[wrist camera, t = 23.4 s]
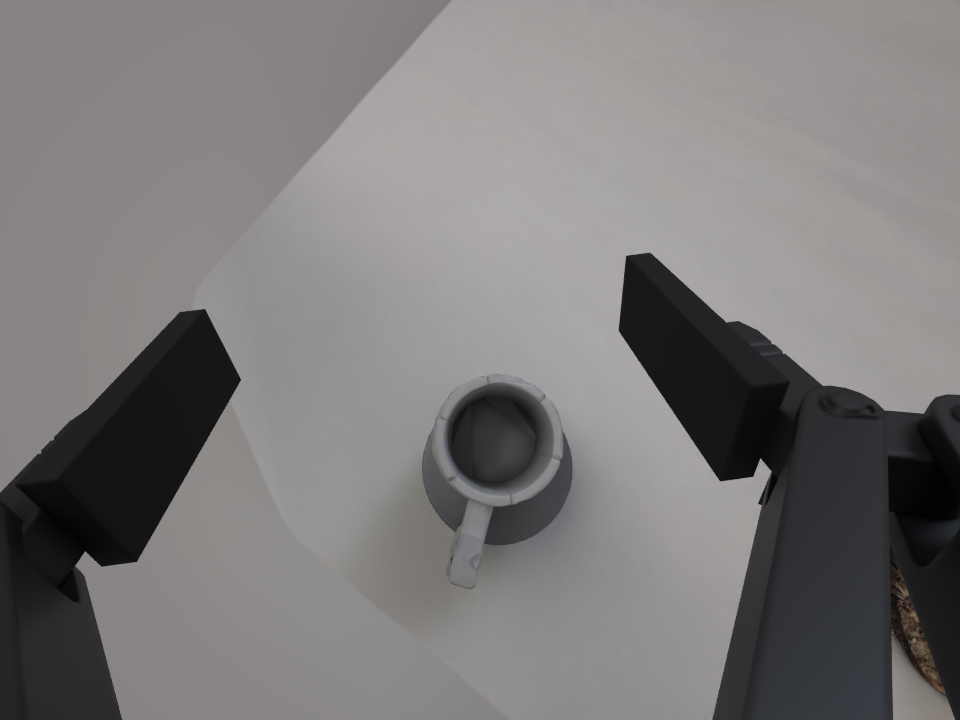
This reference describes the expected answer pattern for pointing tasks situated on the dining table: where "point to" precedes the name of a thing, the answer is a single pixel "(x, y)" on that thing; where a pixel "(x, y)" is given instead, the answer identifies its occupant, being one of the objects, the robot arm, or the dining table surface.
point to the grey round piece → (499, 475)
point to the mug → (459, 461)
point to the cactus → (910, 626)
